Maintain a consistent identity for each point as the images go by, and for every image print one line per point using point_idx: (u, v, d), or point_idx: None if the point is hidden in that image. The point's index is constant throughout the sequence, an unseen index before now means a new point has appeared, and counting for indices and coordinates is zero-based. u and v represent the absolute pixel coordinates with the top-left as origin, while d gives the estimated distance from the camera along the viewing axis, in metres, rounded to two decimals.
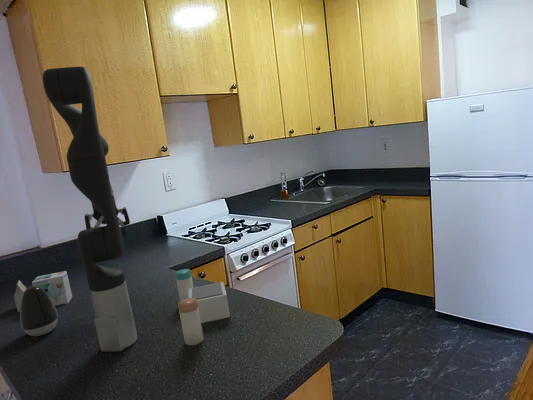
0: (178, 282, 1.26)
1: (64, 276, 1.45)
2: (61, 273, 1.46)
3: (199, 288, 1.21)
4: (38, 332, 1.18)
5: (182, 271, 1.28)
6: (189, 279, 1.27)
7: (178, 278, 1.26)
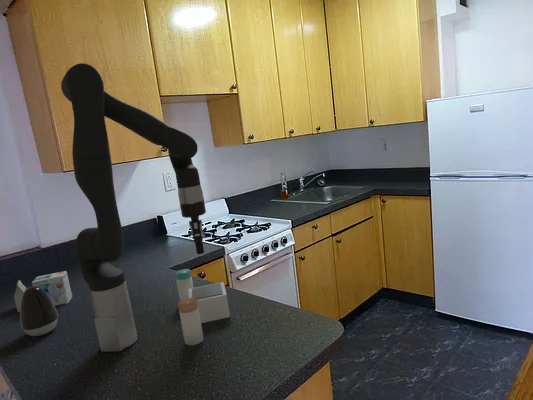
0: (178, 282, 1.26)
1: (64, 276, 1.45)
2: (61, 273, 1.46)
3: (199, 288, 1.21)
4: (38, 332, 1.18)
5: (182, 271, 1.28)
6: (189, 279, 1.27)
7: (178, 278, 1.26)
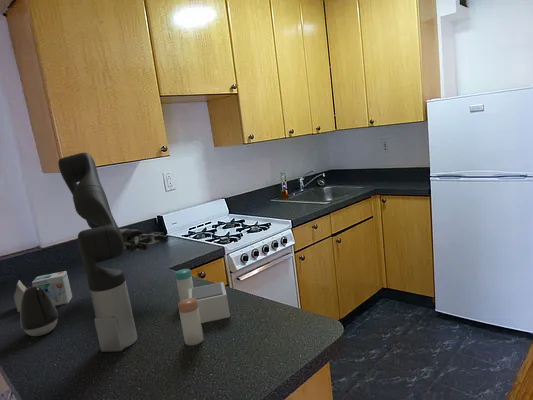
0: (178, 282, 1.26)
1: (64, 276, 1.45)
2: (61, 273, 1.46)
3: (199, 288, 1.21)
4: (38, 332, 1.18)
5: (182, 271, 1.28)
6: (189, 279, 1.27)
7: (178, 278, 1.26)
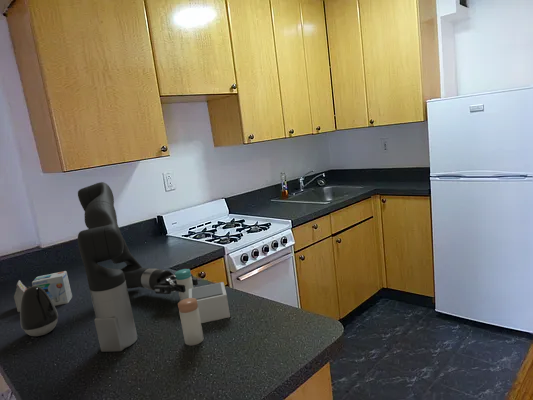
0: (178, 282, 1.26)
1: (64, 276, 1.45)
2: (61, 273, 1.46)
3: (199, 288, 1.21)
4: (38, 332, 1.18)
5: (182, 271, 1.28)
6: (189, 279, 1.27)
7: (178, 278, 1.26)
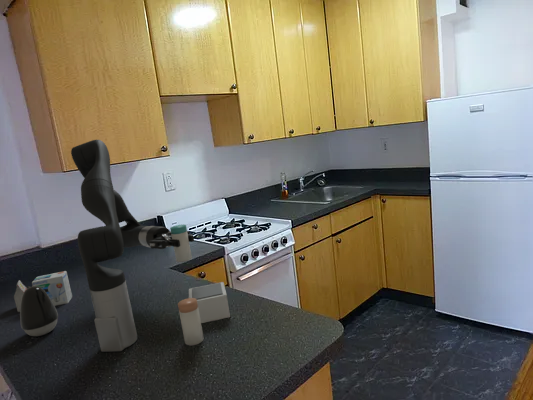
0: (173, 237, 1.23)
1: (64, 276, 1.45)
2: (61, 273, 1.46)
3: (199, 288, 1.21)
4: (38, 332, 1.18)
5: (177, 226, 1.24)
6: (184, 233, 1.23)
7: (173, 232, 1.22)
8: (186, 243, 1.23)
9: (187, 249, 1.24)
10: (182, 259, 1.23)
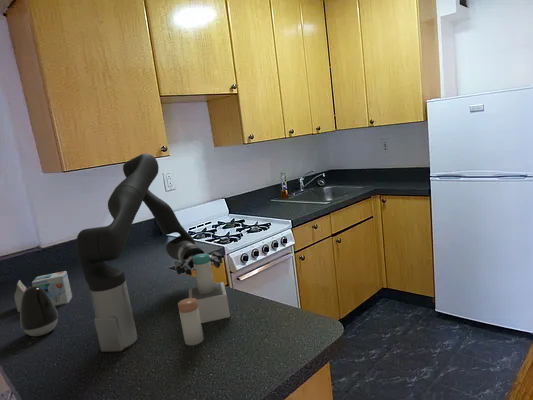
0: (194, 266, 1.16)
1: (64, 276, 1.45)
2: (61, 273, 1.46)
3: None
4: (38, 332, 1.18)
5: (201, 255, 1.17)
6: (204, 265, 1.15)
7: (193, 262, 1.16)
8: (206, 275, 1.15)
9: (207, 281, 1.16)
10: (201, 291, 1.16)
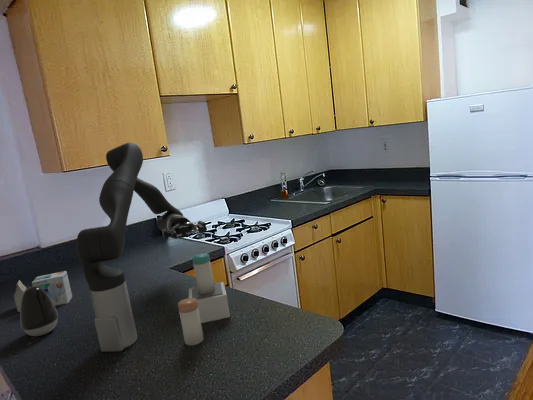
0: (194, 266, 1.16)
1: (64, 276, 1.45)
2: (61, 273, 1.46)
3: None
4: (38, 332, 1.18)
5: (201, 255, 1.17)
6: (204, 265, 1.15)
7: (193, 262, 1.16)
8: (206, 275, 1.15)
9: (207, 281, 1.16)
10: (201, 291, 1.16)
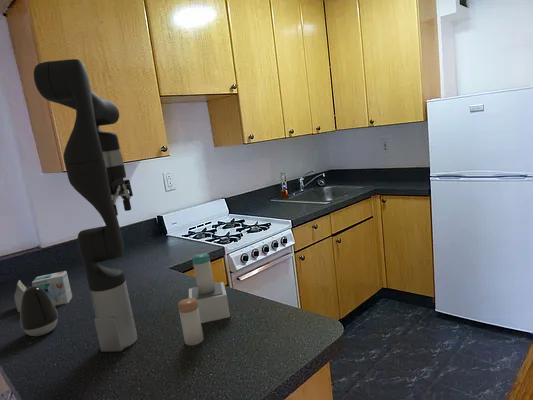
0: None
1: (64, 276, 1.45)
2: (61, 273, 1.46)
3: None
4: (38, 332, 1.18)
5: (200, 255, 1.17)
6: (203, 265, 1.15)
7: (193, 262, 1.16)
8: (206, 275, 1.15)
9: (207, 281, 1.16)
10: (201, 291, 1.16)
